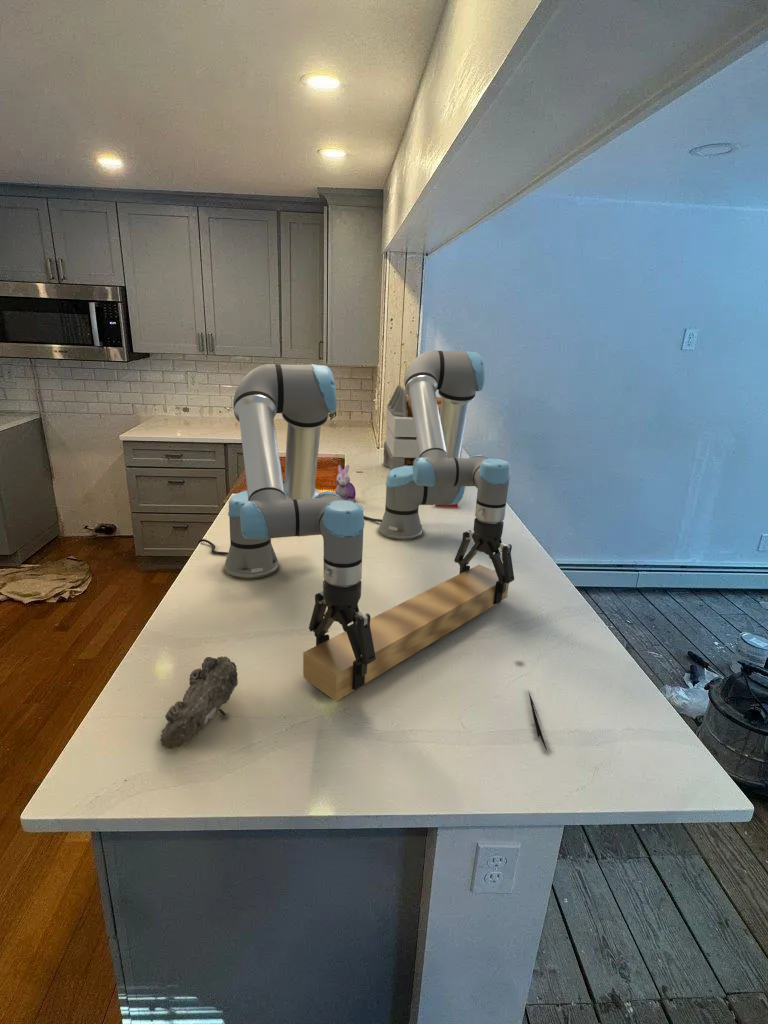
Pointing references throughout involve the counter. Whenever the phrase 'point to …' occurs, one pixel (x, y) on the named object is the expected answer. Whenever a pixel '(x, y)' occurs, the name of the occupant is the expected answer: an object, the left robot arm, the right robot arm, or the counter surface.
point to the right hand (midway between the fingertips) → (480, 595)
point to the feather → (536, 721)
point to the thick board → (403, 630)
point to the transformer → (401, 431)
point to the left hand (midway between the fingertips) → (340, 674)
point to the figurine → (345, 485)
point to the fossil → (200, 701)
